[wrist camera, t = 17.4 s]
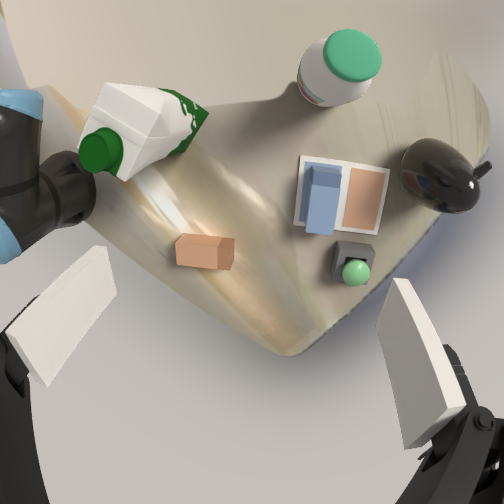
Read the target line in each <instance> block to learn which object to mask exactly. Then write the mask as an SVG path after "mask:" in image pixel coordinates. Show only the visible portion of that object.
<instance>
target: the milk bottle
mask: <svg viewBox="0 0 504 504" xmlns="http://www.w3.org/2000/svg"><path fill="white" fill-rule="evenodd" d="M381 60H382V57H381V53H380V49H379V48H378V46H377V44H376V43H375V42H374V40H373V39H372V38H370V37H369V36H368V35H366V34H365V33H363V32H360V31H357V30H352V29H345V30H339V31H337V32H335V33H333V34H332V35H331V36H330V37H329V38H324V39H321V40H319V41H317V42H315V43H313V44H312V45H311V46H310V47H309V48H308V49H307V50H306V51H305V53H304V54H303V57H302V59H301V62H300V65H299V69H298V74H297V84H298V88H299V90H300V92H301V94H302V95H303V96H304V97H305V98H306V99H307V100H308V101H309V102H311V103H313V104H315V105H318V106H322V107H332V106H337V105H342V104H346V103H349V102H352V101H354V100H356V99H358V98H359V97H361V96H362V95H363V94H364V93H365V92H366V91H367V89H368V88H369V86H370V84H371V80H372V77H374V76H375V75H376V74H377V73H378V71H379V69H380V67H381V62H382V61H381Z"/></svg>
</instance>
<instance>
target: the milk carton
mask: <svg viewBox="0 0 504 504" xmlns="http://www.w3.org/2000/svg"><path fill="white" fill-rule="evenodd" d="M208 114H209V113H208V112H207V111H205V110H204V109H203V108H201V107H200V106H199V105H197V104H196V103H194V102H193V101H191V100H190V99H188V98H186V97H184V96H183V95H181V94H179V93H178V92H176V91H174V90H168V89H160V88H153V87H144V86H133V85H125V84H115V83H106V82H105V83H104V85H103V87H102V89H101V91H100V93H99V95H98V97H97V99H96V102H95V104H93V105H92V107H91V110H90V112H89V116H88V118H87V121H86V123H85V126H84V128H83V131H82V134H81V136H80V139H79V142H78V145H77V149H79V159H80V162H81V164H82V166H83V167H84V169H85V170H87V171H88V172H91V173H98V172H101V171H106V172H110V173H111V174H112V175H114V176H115V177H116V176H117V177H118V178H120V179H121V180H123V181H124V182H126V181H127V180H129V179H130V178H131V177H133V176H134V175H135V174H137V173H138V172H139V171H141V170H142V169H144V168H145V167H146V166H148V165H149V164H151V163H153V162H155V161H158V160H160V159H163V158H165V157H167V156H170V155H172V154H175V153H179V152H183V151H186V149H187V147H188V146H189V144H190V142H191V141H192V139H193V137H194V136H195V134H196V133H197V131H198V130H199V128H200V126H201V125H202V123H203V122H204V120H205V119H206V117H207V116H208Z"/></svg>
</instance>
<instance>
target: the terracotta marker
mask: <svg viewBox="0 0 504 504" xmlns="http://www.w3.org/2000/svg"><path fill="white" fill-rule="evenodd" d="M175 249H176V260H177V265H183V266H191V267H199V268H207V269H215V270H217V269H223V270H230V268H231V265H232V263H233V260H234V239H231V238H223V237H217V236H207V235H197V234H186V233H183V234H182V235H181V237H180V238H179V239H178V240H177V241H176V243H175Z"/></svg>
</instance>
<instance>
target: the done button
mask: <svg viewBox="0 0 504 504" xmlns="http://www.w3.org/2000/svg"><path fill="white" fill-rule="evenodd" d="M369 276H370V270H369V267H368V265H367V264H366V263H365V262H364V261H362V260H359V259H357V258H351V259H349V260H348V261H347V262H346V264H345V266H344V268H343V270H342V277H343V280H344V282H345V283H346V284H347V285H349V286H360V285H362V284H364V283H365V282H366V281H367V280H368V278H369Z"/></svg>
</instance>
